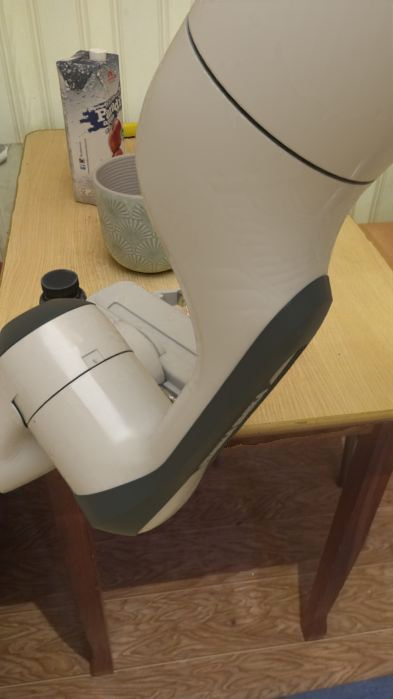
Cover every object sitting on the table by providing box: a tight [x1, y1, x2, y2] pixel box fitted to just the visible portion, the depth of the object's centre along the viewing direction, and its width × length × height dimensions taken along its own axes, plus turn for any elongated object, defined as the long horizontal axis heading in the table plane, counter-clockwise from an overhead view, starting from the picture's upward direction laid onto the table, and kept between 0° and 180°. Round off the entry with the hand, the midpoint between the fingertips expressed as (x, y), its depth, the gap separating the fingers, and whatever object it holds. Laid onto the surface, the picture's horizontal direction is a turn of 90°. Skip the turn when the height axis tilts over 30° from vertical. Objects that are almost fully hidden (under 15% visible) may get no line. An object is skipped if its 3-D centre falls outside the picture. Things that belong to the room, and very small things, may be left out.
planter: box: [92, 152, 173, 274], centre depth 91 cm, size 17×17×15 cm
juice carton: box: [55, 47, 126, 206], centre depth 105 cm, size 9×10×27 cm
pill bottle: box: [38, 268, 88, 305], centre depth 74 cm, size 6×6×11 cm
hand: (219, 310), depth 62 cm, fingers open, 8 cm apart
